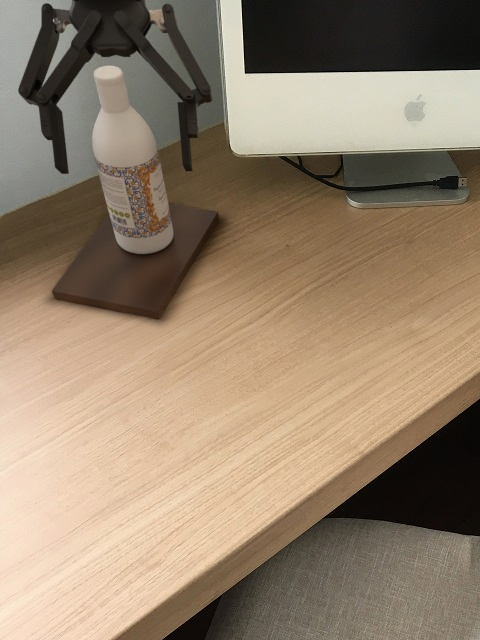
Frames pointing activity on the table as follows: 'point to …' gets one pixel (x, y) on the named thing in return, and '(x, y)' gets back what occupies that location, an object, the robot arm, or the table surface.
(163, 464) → the table surface
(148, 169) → the bath foam
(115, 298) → the walnut board
